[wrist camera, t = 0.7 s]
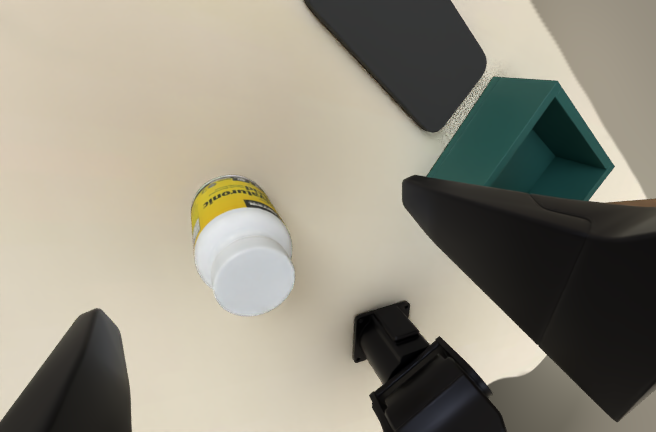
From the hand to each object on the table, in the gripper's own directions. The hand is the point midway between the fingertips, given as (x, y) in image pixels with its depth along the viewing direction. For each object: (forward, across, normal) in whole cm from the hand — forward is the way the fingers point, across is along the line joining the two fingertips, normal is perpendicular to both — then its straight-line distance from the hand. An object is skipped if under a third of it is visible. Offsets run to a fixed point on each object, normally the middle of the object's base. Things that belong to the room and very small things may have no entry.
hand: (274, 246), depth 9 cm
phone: (+15, -15, -1) cm, 21 cm away
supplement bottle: (+14, 0, +7) cm, 16 cm away
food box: (+12, -24, +12) cm, 30 cm away
